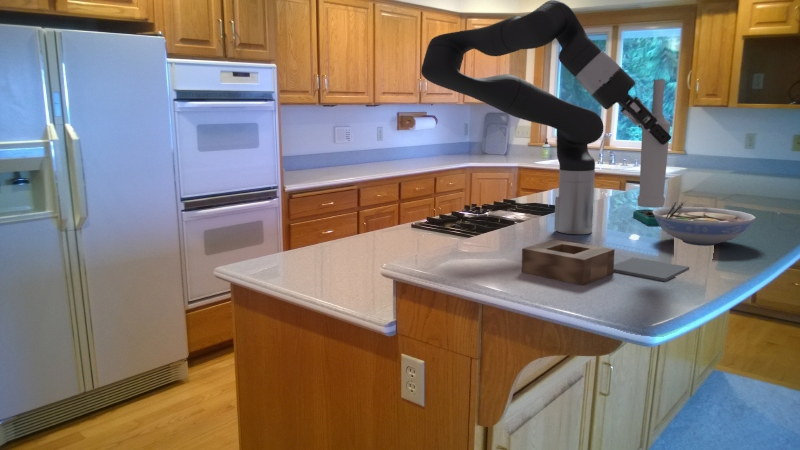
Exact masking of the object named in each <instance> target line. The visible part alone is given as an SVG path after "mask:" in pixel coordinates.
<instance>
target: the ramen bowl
mask: <svg viewBox="0 0 800 450" xmlns="http://www.w3.org/2000/svg"><path fill="white" fill-rule="evenodd" d="M676 205H677V202H676V201H673V202H672V205H671V206H670V207H659V208H657V209H652V210H653V214H654V216H655V219H656V221H657V222H658V224H659V227H660V229H661V230H662V231H663V232H665V233H666V234H668V235H669V236H671V237H673V238H676V239H678V240H681V241H682V243H685V244H687V245H692V246H701V247H703V246H704V247H707V246H708V247H710V246H716V245H717V244H719V243H725V242H728V241H731V240H733V239H735V238H737V237H739V236H742V234H743V233H745V232H746V231H747V230H748V229H749V228H750V227H751V225H752V224H753V223H754V222H755V220H756V219H757V218H756V217H757V216H754V215H753V214H751V213H748V212H744V211H739V210H731V209H726V208H716V207H715V208H714V207H699V206H695V207H694V206H683V205H684V202H680V203H679V204H678V205H677V206H676Z"/></svg>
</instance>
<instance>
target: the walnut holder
mask: <svg viewBox="0 0 800 450" xmlns="http://www.w3.org/2000/svg"><path fill="white" fill-rule="evenodd" d="M521 249H522V251H521V273H525V274H529V275H534V276H539V277H544V278H548V279H553V280H557V281H562V282H567V283H572V284H575V285H576V284H577V285H580V286H584V285H587V284H591V283H592V282H596V281H597V280H600V279H601V278H605V277H608V276H609V275H611V274H612V275H613V274H614V272H613V270H614V265H615V248H610V247H609V248H608V247H604V246H596V245H589V244H584V243H578V242H571V241H565V240H559V239H552V240H547V241H544V242H541V243H538V244H534V245H530V246H527V247H526V246H525V247H522V248H521Z"/></svg>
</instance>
